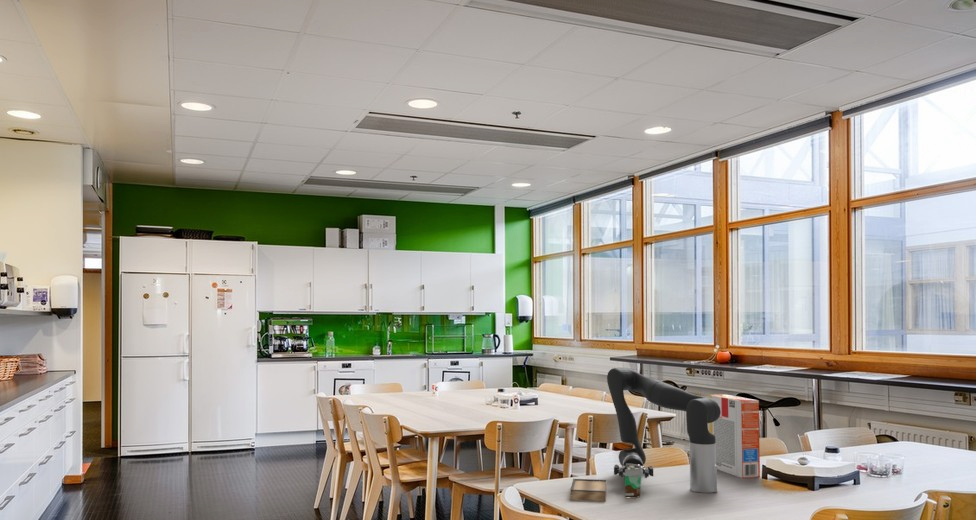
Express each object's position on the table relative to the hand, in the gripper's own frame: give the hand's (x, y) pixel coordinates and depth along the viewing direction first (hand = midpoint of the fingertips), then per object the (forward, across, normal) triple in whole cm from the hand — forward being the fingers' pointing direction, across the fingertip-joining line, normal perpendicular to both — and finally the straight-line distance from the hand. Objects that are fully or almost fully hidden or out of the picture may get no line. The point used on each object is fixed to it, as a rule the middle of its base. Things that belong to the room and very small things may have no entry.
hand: (633, 474), depth 279 cm
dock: (+5, -16, +7) cm, 18 cm away
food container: (+3, 0, +7) cm, 7 cm away
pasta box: (-45, +41, +7) cm, 62 cm away
